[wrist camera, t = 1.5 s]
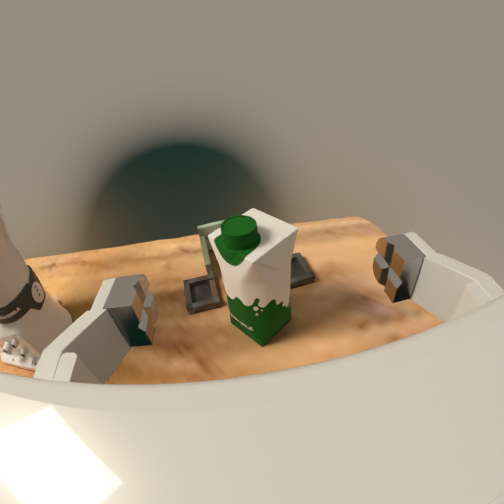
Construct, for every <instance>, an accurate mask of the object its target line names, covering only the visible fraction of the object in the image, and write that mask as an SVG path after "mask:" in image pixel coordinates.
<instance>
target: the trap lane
mask: <svg viewBox="0 0 504 504" xmlns="http://www.w3.org/2000/svg"><path fill="white" fill-rule="evenodd" d="M223 221H224V220H223ZM223 221H218V222H213V223H209V224H205V225H200V226H197V228H198V232H199V236H200V241H201V246H202V251H203V256H204V261H205V266H206V269H207V273H208V275H205V276H201V277H197V278H193V279H188V280H184V289H185V297H186V304H187V310H188V312H189V314H193V313H197V312H201V311H206V310H210V309H214V308H218V307H221V303H220V299H219V295H218V291H217V287H216V283H215V279H214V275H213V271H212V267H211V262H210V258H209V254H208V250H212V249H213V248H212V246H211V243H210V241H209V238H208V235H209V234H211V233H212V232H214V231H215V230H217V229H218V228H220V227H221V224H222V222H223ZM314 278H315V276H314V274H313V273H312V271H311V270H310V268H309V266H308V265H307V263H306V262H305V260H304V258H303V257H302V255H301V254H300V252H299V253H295V254H292V259H291V277H290V289H291V288H295V287H298V286H302V285H305V284H309V283H312V282H314Z"/></svg>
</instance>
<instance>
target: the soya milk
mask: <svg viewBox="0 0 504 504" xmlns="http://www.w3.org/2000/svg"><path fill="white" fill-rule="evenodd" d="M297 231H298V228H297V227H295V226H292V225H290V224H288V223H286V222H283V221H281V220H279V219H277V218H275V217H272V216H270V215H268V214H265V213H263V212H261V211H259V210H256V209H254V208H252V209H251V210H249V211H247V212H246V213H244V214H242V215H236V216H232V217H229V218H227V219H226V220H224V221H223V222H222V224H221V227H220V228H218V229H217V230H215V231H214V232H212V233H211V234H209V235H208V238H209V241H210V243H211V246H212V248H213V251H214V253H215V256H216V258H217V261H218V263H219V266H220V269H221V273H222V277H223V282H224V286H225V291H226V295H227V300H228V304H229V310H230V318H231V323H232V324H233V325H235V326H236V327H237V328H239V329H240V330H241V331H242V332H244V333H245V334H246V335H248V336H249V337H250V338H251V339H253V340H254V341H255V342H257V343H258V344H259V345H261V346H263V345H264V344H266V343H267V342H268V341H269V340H270V339H271V338H272V337H273V336H274V335H275V334H276V333H277V332H278V331H279V330H280V329H281V328H282V327H283V326H284V325H285V324H286V323H287V322H288V321H289V320H290V319H291V318H292V317H291V307H290V277H291V259H292V254H293V249H294V245H295V240H296V236H297Z"/></svg>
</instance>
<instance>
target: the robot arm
mask: <svg viewBox="0 0 504 504" xmlns="http://www.w3.org/2000/svg"><path fill="white" fill-rule="evenodd" d="M376 250H377V251H378V254H377V255H376V257H375V258H374V262H373V272H374V275H375V278H376V280H377V281H378V283H380V284H382V285H384V286H385V290H384V291H385V293H386V294H387V296H388V297H389V299H390V300H391V302H392V303H395V302H399V301H403V300H407V299H411V300H413V301H414V302H416V303H417V304H419V305H420V306H422V307H423V308H425V309H426V310H428V311H429V312H431V313H432V314H434V315H435V316H437V317H438V318H440V319H441V320H442V321H444V322H445V323H442V324H440V325H437V326H435V327H432V328H430V329H427V330H425V331H422V332H419V333H417V334H414V335H411V336H408V337H405V338H403V339H400V340H397V341H394V342H391V343H388V344H385V345H381V346H378V347H375V348H372V349H368V350H365V351H362V352H358V353H355V354H351V355H347V356H343V357H340V358H336V359H332V360H328V361H324V362H319V363H315V364H310V365H306V366H301V367H296V368H291V369H286V370H281V371H275V372H270V373H264V374H257V375H251V376H244V377H236V378H228V379H220V380H210V381H199V382H187V383H170V384H132V385H129V384H105V382H106V381H107V380H108V378H109V377H110V376H111V374H112V373H113V371H114V370H115V369H116V367H117V366H118V364H119V363H120V362H121V360H122V359H123V358H124V356H125V355H126V354H127V352H128V351H129V350H130V347H134V346H145V345H153V339H154V333H155V329H154V327H153V325H152V324H153V323H154V322H155V321H156V320H157V314H158V312H157V303H156V299H155V297H154V294H153V293H151V292H150V291H149V290H148V286H149V282H148V280H147V278H146V276H145V275H143V274H141V275H133V276H125V277H118V278H110V279H105V280H104V281H103V282H102V285H101V287H100V289H99V291H98V293H97V296H96V298H95V300H94V303H93V305H92V307H91V310H90V311H86V312H85V313H84V314H83V315H81V316H80V317H79V318H78V319H77V320H76V321H75V322H74V323H72V317H71V315H70V313H69V311H68V310H67V309H65V308H64V307H63V306H61V305H60V303H59V301H58V300H57V299H56V298H53V297H52V296H51V294H50V293H49V292H48V291H47V290H46V289H45V288H44V287H43V285H42V284H41V283H40V281H39V279H38V277H37V276H36V274H35V272H34V271H33V270H32V269H31V267H30V266H29V265H27V264H26V263H25V261H24V260H23V258H22V256H21V255H20V253H19V251H18V249H17V248H16V246H15V244H14V242H13V240H12V239H11V237H10V235H9V232H8V229H7V227H6V224H5V221H4V217H3V213H2V210H1V206H0V347H1V360H2V362H3V363H4V364H7V365H11V366H15V367H19V368H23V369H27V370H32V371H35V373H34V376H33V378H32V377H25V376H19V375H14V374H8V373H3V372H0V504H504V291H503V290H502V289H501V287H500V286H499V285H498V284H497V283H496V282H495V281H494V280H493V279H492V278H491V277H490V276H489V275H488V274H486V273H483V272H482V271H479V270H477V269H475V268H473V267H470V266H468V265H466V264H463V263H461V262H458V261H457V260H454V259H452V258H449V257H447V256H445V255H442V254H437V253H436V252H435V251H433V249H431V248H430V247H429V246H428V245H427V244H426V243H425V242H424V241H423V240H422V239H421V238H420V237H419V236H418V235H417V234H416V233H413V232H409V233H404V234H400V235H395V236H389V237H384V238H379V239H378V241H377V244H376Z"/></svg>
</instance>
